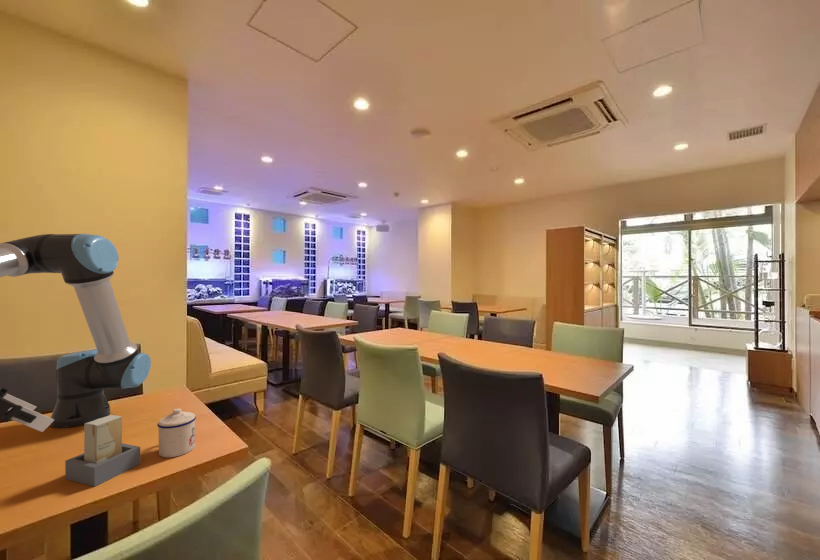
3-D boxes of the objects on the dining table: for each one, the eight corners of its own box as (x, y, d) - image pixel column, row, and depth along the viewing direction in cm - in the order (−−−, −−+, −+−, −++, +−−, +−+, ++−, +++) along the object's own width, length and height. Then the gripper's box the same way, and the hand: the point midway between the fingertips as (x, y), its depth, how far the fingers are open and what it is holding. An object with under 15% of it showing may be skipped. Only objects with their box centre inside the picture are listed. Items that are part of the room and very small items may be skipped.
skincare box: (95, 476, 85) (94, 426, 85) (83, 473, 86) (82, 423, 86) (123, 462, 91) (123, 415, 91) (111, 459, 93) (110, 413, 92)
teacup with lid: (198, 451, 99) (197, 410, 99) (158, 462, 93) (157, 418, 93) (193, 436, 108) (192, 398, 108) (156, 444, 103) (156, 405, 103)
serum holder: (65, 478, 86) (65, 460, 86) (112, 457, 96) (112, 441, 96) (94, 486, 83) (94, 467, 83) (140, 463, 93) (140, 446, 92)
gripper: (-105, 376, 72) (9, 421, 85) (-94, 401, 58) (38, 450, 72) (-63, 345, 76) (39, 393, 89) (-44, 362, 63) (72, 415, 76)
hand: (39, 418), depth 80 cm, fingers open, 13 cm apart
